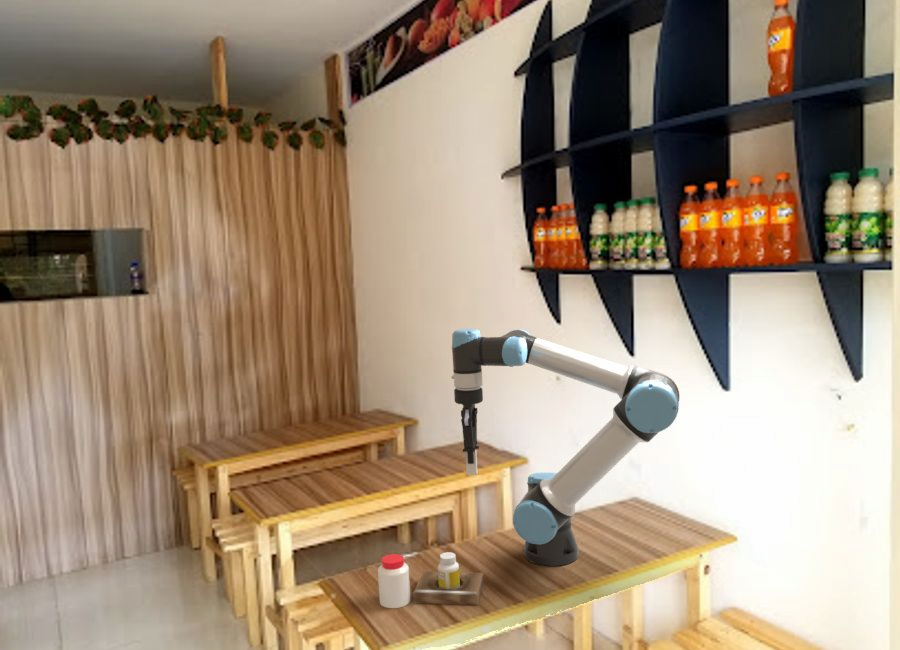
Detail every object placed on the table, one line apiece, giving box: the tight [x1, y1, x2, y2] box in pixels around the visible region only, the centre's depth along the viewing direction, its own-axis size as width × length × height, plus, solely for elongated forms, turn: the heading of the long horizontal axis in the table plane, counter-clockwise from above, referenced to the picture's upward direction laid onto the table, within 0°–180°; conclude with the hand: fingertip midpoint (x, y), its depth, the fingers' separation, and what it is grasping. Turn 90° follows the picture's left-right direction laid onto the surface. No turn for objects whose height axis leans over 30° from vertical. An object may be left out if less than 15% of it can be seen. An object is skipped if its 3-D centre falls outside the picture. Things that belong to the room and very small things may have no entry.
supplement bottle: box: [437, 551, 460, 589], centre depth 180 cm, size 5×5×10 cm
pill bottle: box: [377, 553, 411, 609], centre depth 177 cm, size 8×8×11 cm
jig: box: [412, 570, 485, 606], centre depth 180 cm, size 16×12×3 cm
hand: (472, 474), depth 191 cm, fingers closed
